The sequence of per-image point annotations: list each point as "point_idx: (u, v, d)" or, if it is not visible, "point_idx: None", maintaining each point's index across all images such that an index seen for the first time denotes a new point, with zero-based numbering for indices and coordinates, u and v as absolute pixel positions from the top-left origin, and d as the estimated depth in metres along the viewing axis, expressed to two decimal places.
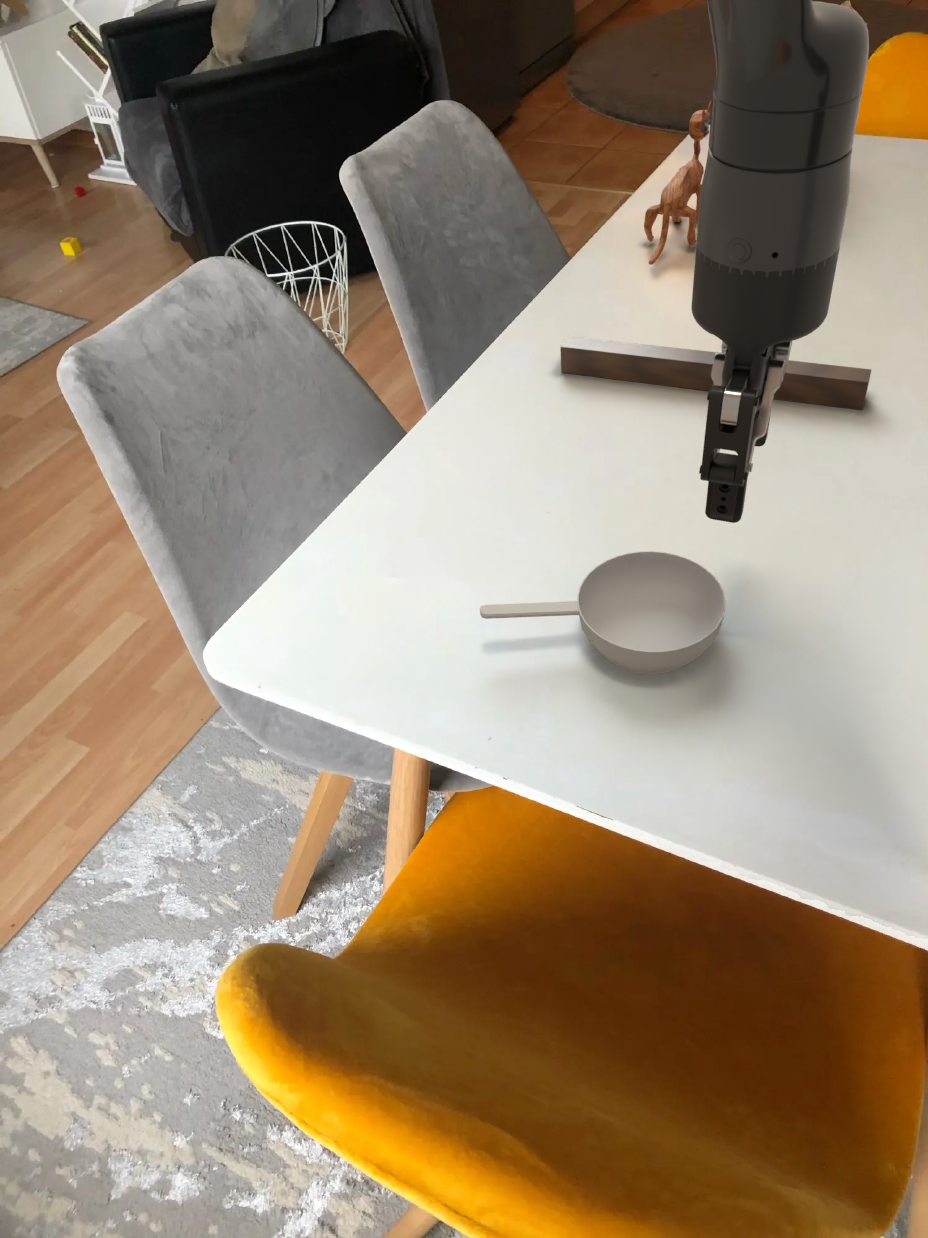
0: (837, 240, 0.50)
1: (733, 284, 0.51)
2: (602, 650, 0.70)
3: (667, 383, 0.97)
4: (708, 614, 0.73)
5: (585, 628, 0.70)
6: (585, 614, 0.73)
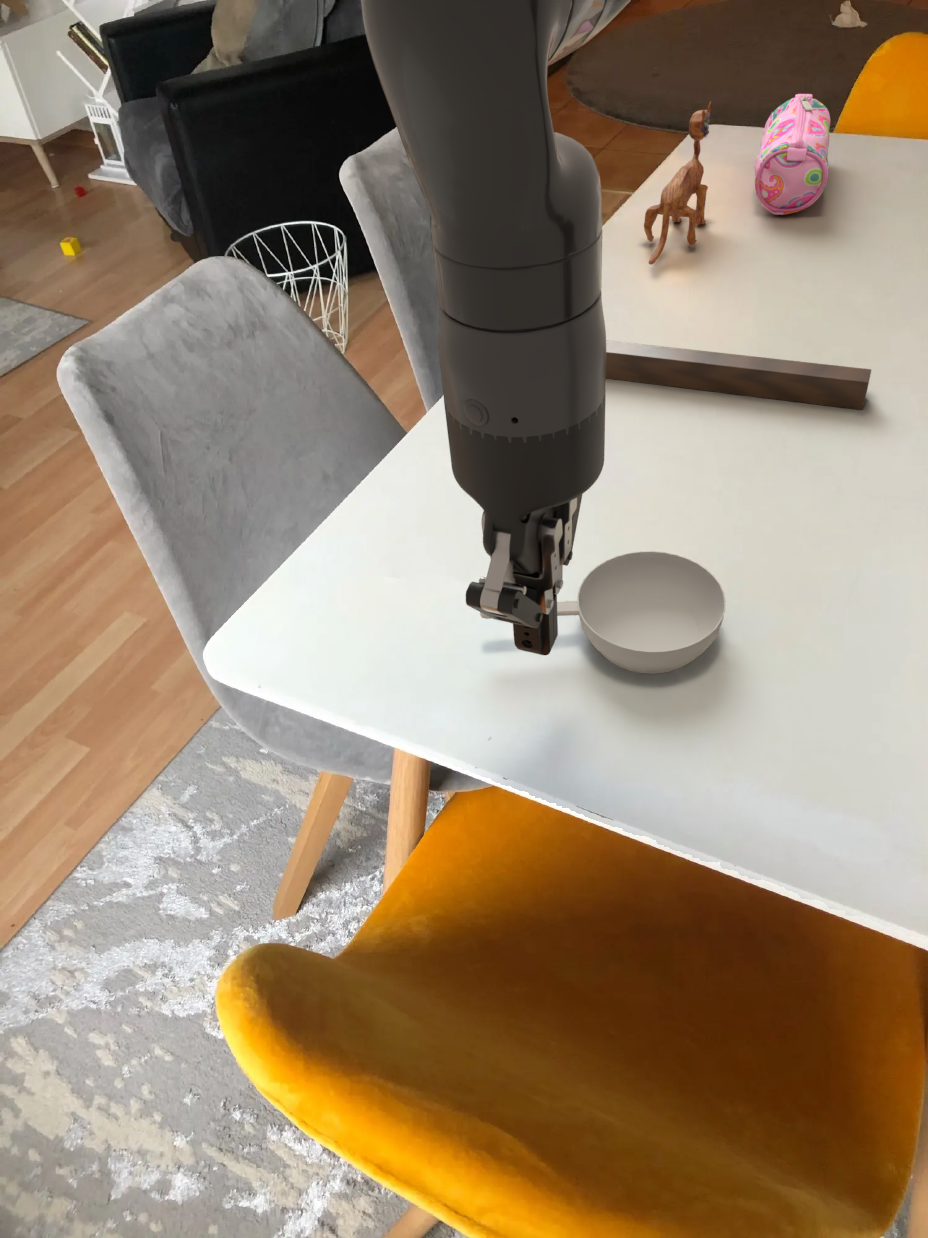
0: (593, 399, 0.42)
1: (476, 447, 0.43)
2: (602, 650, 0.70)
3: (667, 383, 0.97)
4: (708, 614, 0.73)
5: (585, 628, 0.70)
6: (585, 614, 0.73)
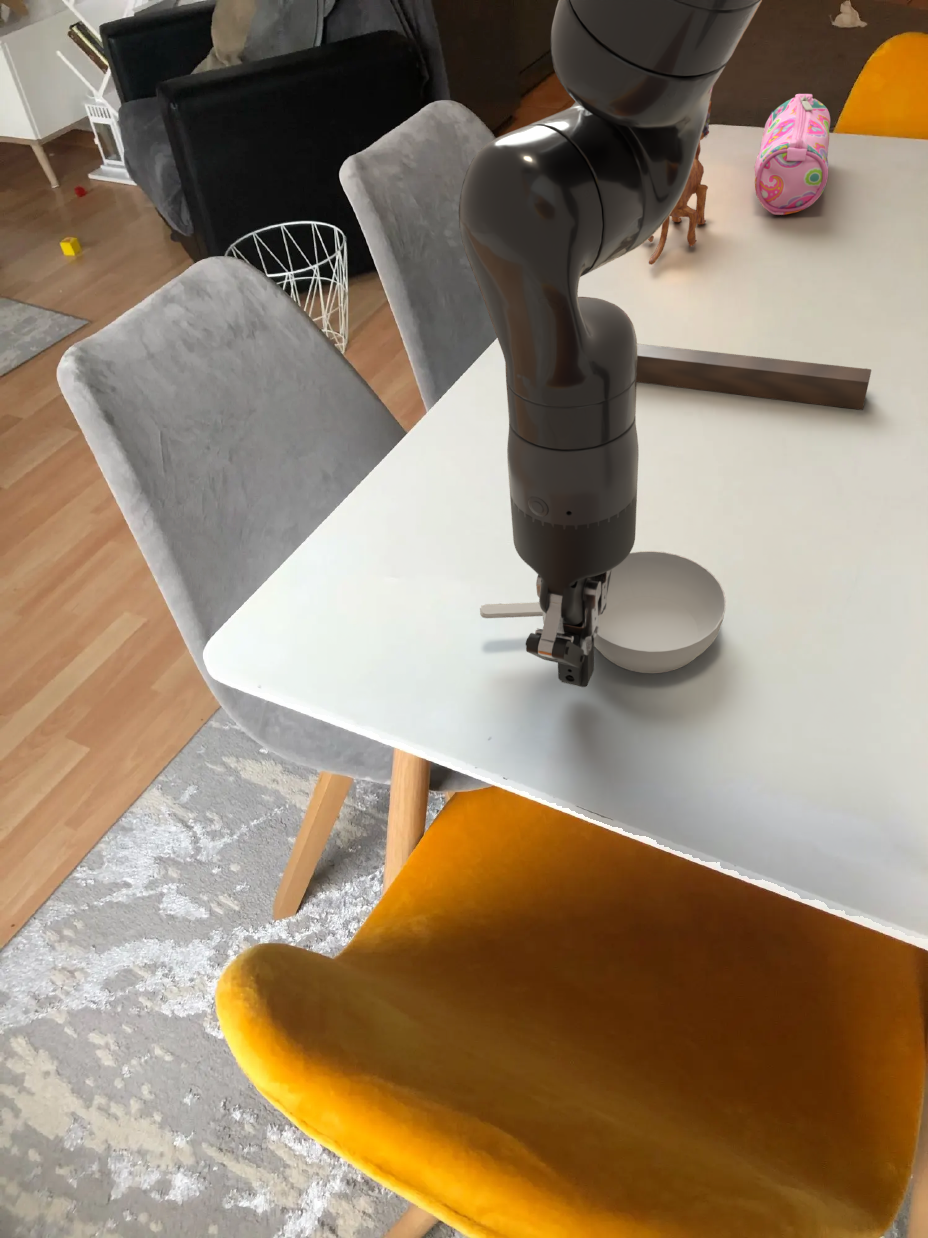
0: (629, 495, 0.54)
1: (537, 531, 0.55)
2: (602, 650, 0.70)
3: (667, 383, 0.97)
4: (708, 614, 0.73)
5: None
6: None
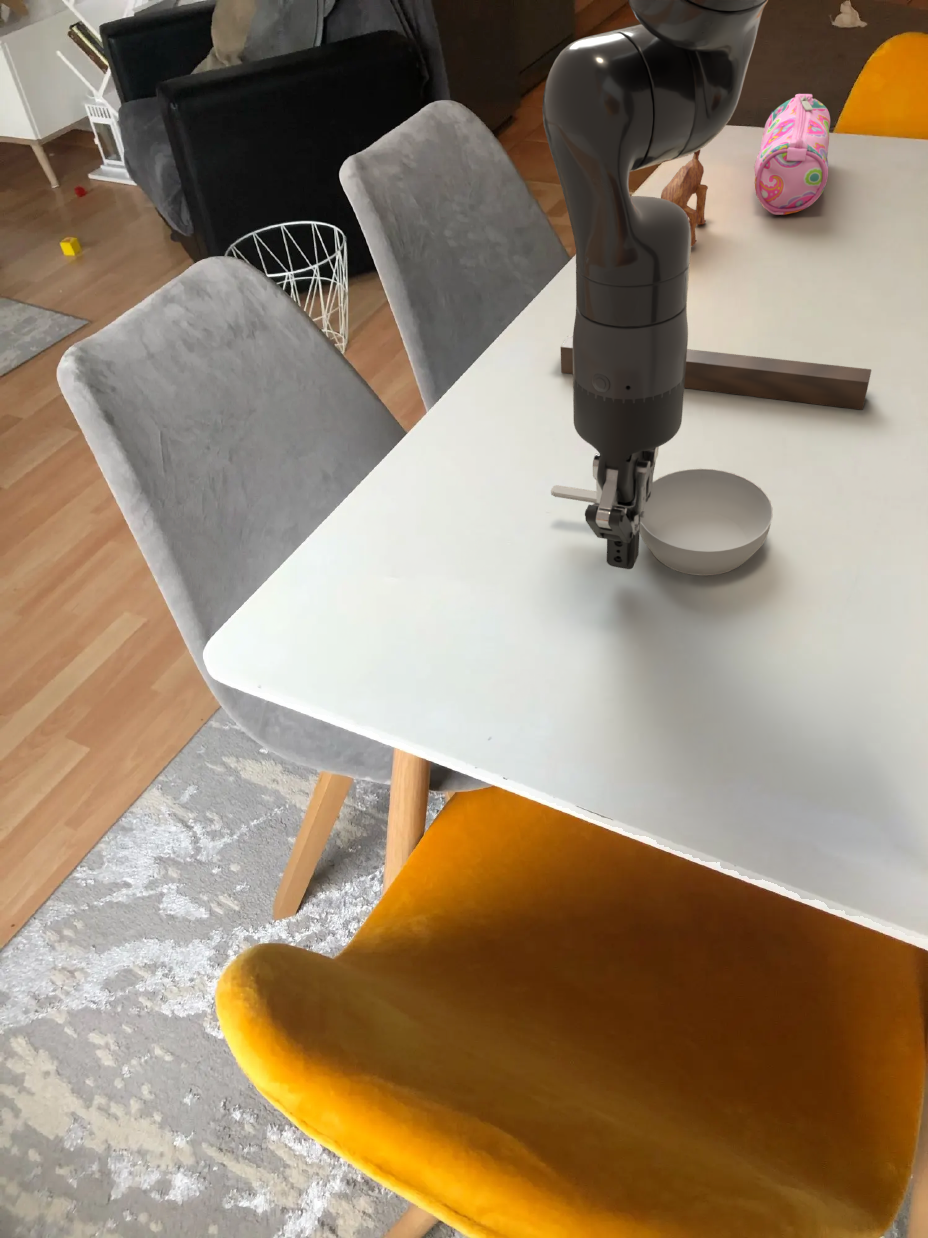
0: (679, 374, 0.63)
1: (599, 407, 0.63)
2: (646, 542, 0.77)
3: None
4: (758, 536, 0.79)
5: None
6: (647, 513, 0.81)
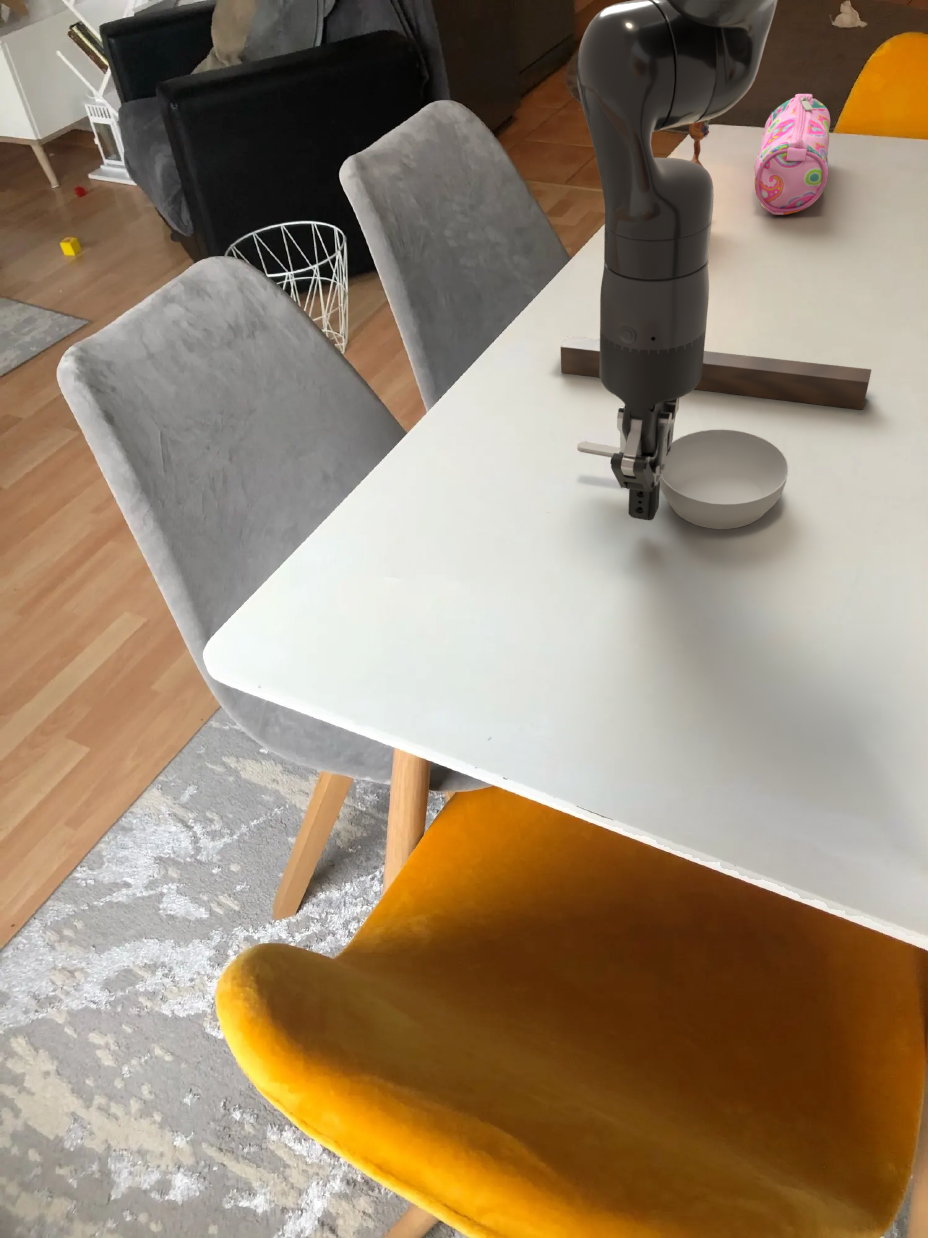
0: (701, 327, 0.67)
1: (625, 358, 0.67)
2: (666, 496, 0.81)
3: None
4: None
5: None
6: (668, 471, 0.85)
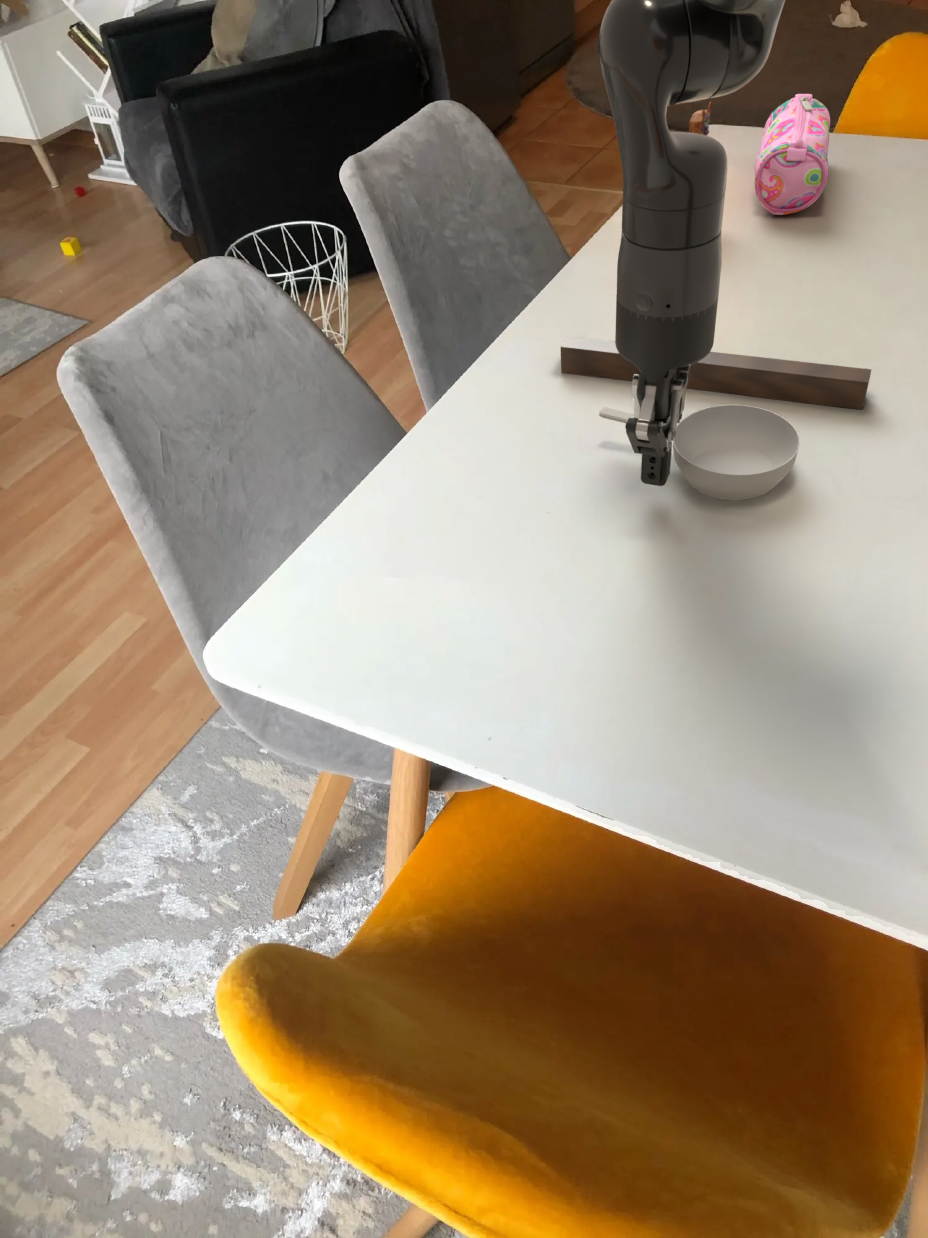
0: (714, 295, 0.70)
1: (640, 326, 0.70)
2: (678, 464, 0.84)
3: None
4: None
5: None
6: (686, 441, 0.88)
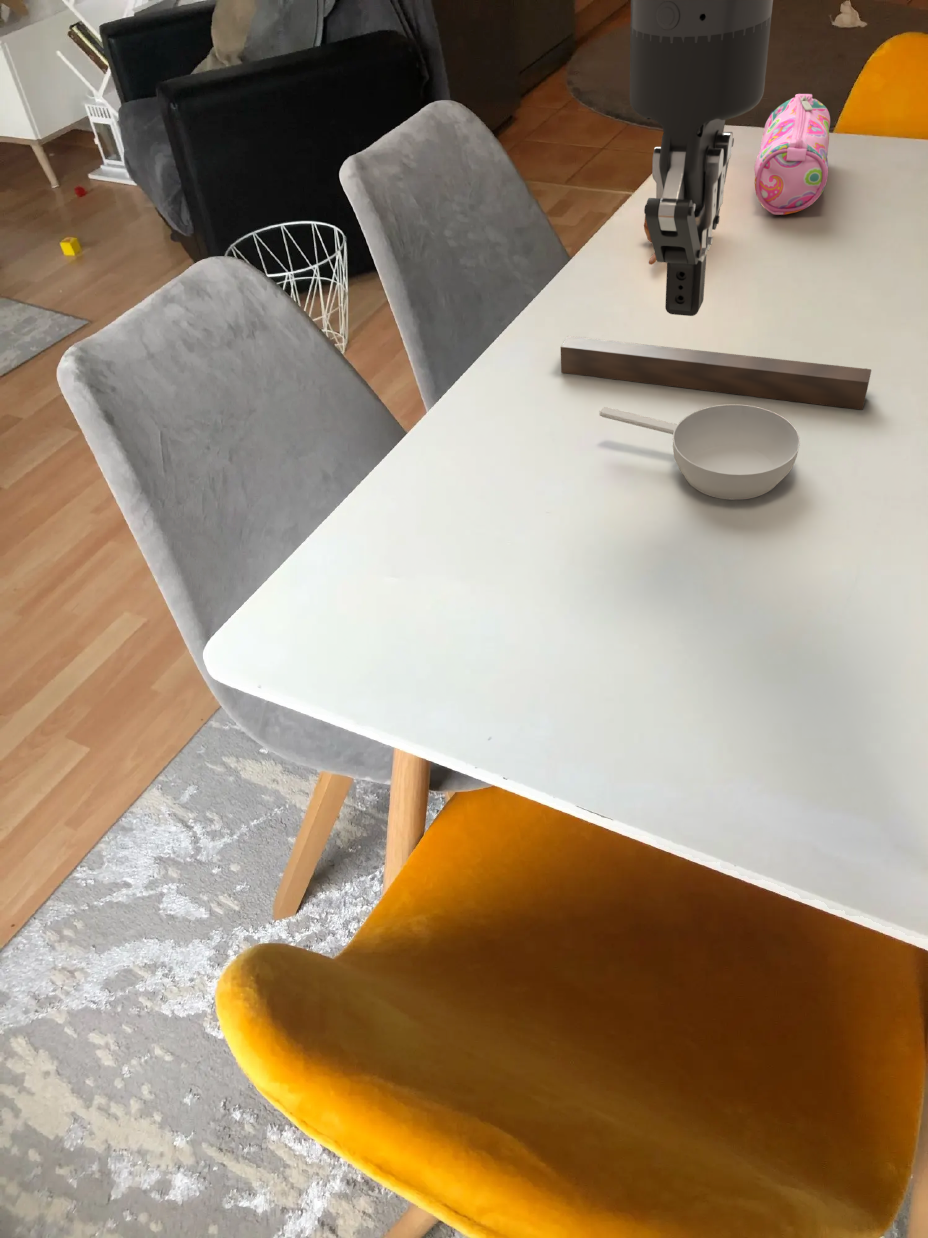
0: (766, 6, 0.50)
1: (664, 55, 0.51)
2: (678, 464, 0.84)
3: (667, 383, 0.97)
4: None
5: (673, 444, 0.85)
6: (686, 441, 0.88)
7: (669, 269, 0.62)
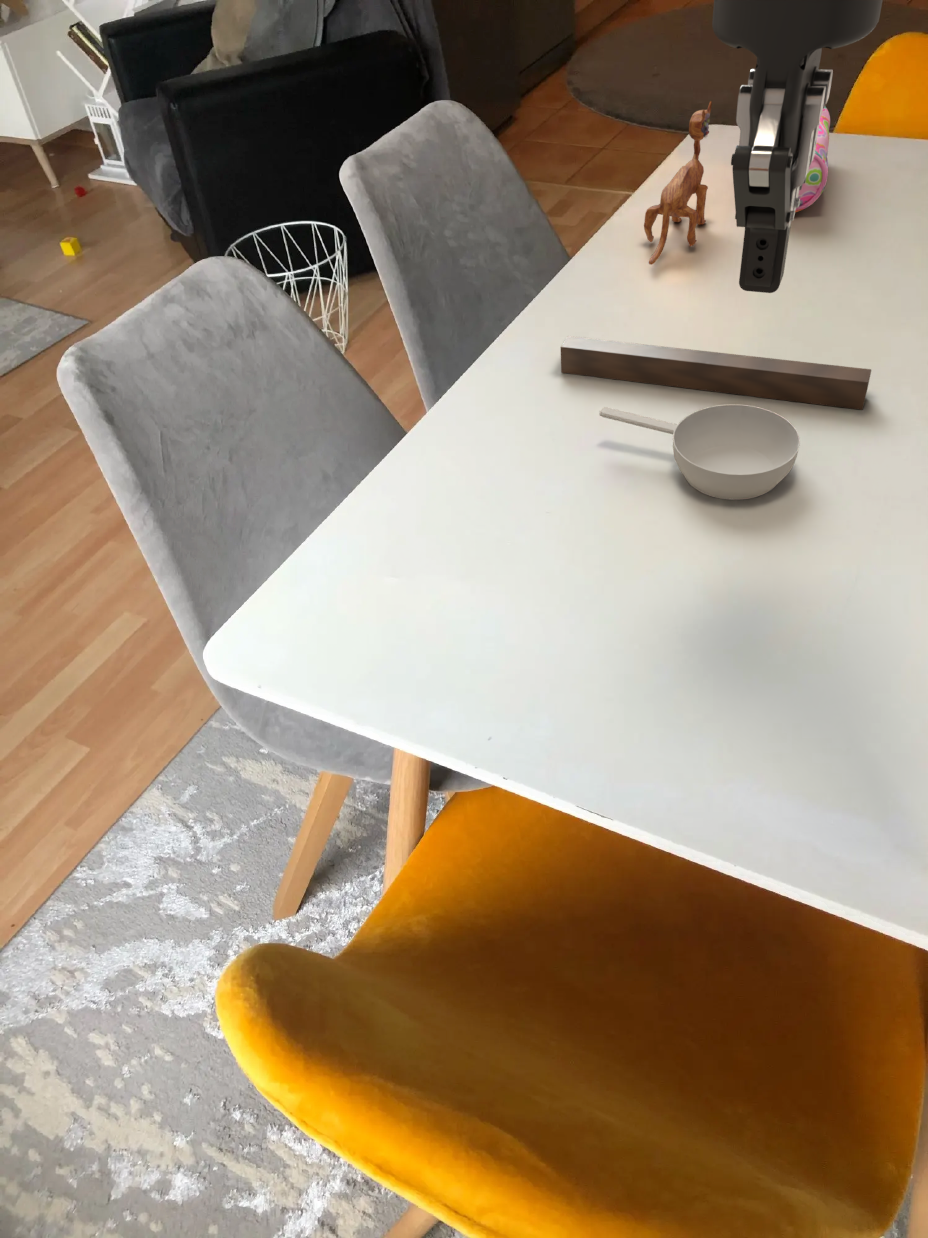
0: None
1: None
2: (678, 464, 0.84)
3: (667, 383, 0.97)
4: None
5: (673, 444, 0.85)
6: (686, 441, 0.88)
7: (747, 236, 0.52)
